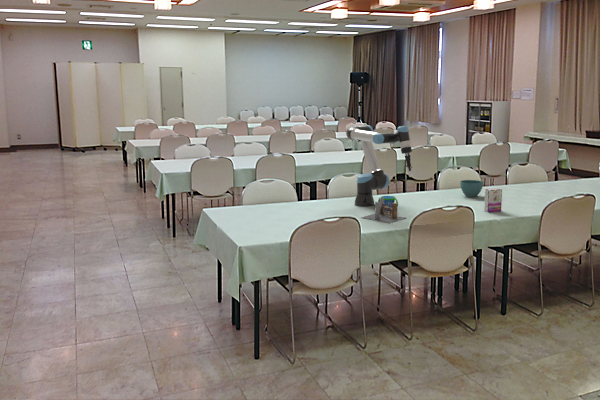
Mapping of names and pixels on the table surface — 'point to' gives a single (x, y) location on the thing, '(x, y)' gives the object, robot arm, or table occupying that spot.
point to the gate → (394, 210)
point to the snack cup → (389, 201)
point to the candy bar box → (493, 200)
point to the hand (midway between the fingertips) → (411, 176)
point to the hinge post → (381, 205)
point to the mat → (383, 218)
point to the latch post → (377, 210)
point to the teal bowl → (471, 187)
